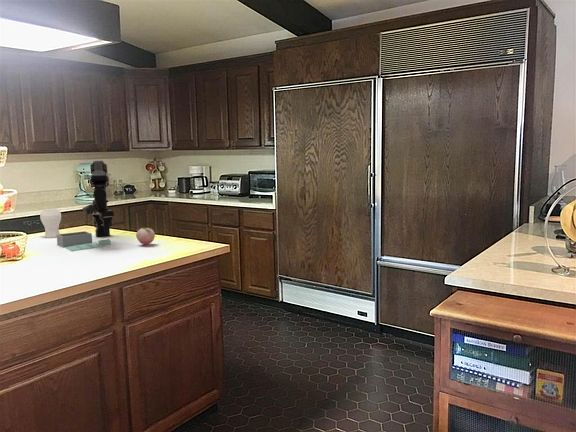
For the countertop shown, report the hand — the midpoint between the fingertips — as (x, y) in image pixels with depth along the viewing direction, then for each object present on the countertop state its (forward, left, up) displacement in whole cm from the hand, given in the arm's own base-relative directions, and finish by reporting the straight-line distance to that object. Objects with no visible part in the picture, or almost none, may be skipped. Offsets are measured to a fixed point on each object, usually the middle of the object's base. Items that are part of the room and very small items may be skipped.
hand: (102, 229), depth 239 cm
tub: (+10, -12, -9) cm, 18 cm away
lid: (+7, 0, -9) cm, 11 cm away
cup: (+11, -49, -9) cm, 51 cm away
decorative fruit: (-17, +13, -9) cm, 23 cm away
